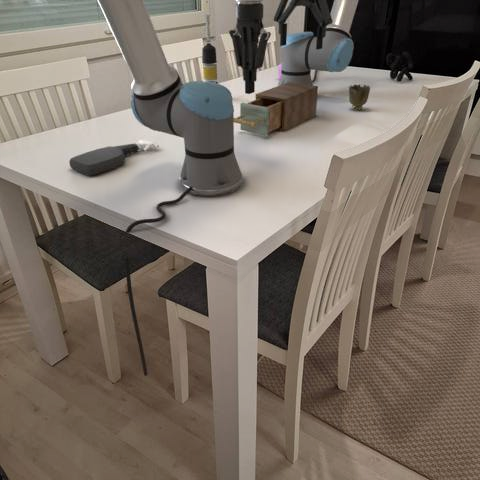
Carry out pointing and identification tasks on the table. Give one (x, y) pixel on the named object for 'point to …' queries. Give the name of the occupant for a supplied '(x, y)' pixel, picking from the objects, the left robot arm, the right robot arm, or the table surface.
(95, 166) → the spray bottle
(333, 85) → the table surface
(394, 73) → the squiggle
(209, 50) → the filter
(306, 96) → the cabinet
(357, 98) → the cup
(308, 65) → the right robot arm
